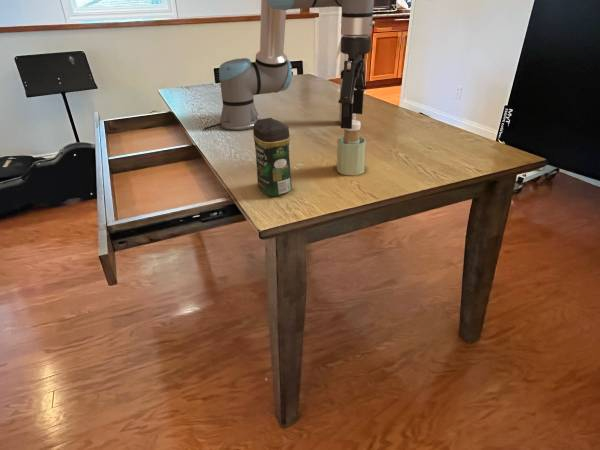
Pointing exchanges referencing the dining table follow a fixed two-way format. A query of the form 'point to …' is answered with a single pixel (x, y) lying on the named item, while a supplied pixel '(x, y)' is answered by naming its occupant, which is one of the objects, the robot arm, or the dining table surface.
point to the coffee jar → (272, 156)
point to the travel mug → (346, 97)
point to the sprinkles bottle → (352, 133)
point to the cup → (351, 157)
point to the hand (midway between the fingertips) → (352, 120)
